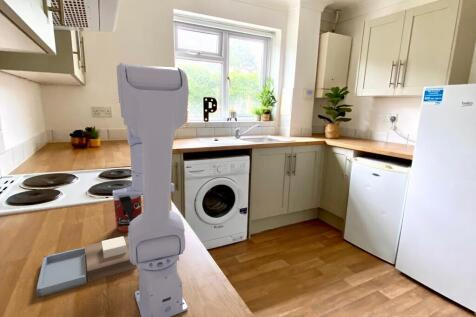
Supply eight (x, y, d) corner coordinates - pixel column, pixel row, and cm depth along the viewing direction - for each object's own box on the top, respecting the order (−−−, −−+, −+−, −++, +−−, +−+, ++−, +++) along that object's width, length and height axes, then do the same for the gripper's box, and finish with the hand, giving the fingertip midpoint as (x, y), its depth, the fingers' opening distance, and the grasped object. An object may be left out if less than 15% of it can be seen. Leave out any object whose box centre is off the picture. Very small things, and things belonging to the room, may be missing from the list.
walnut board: (136, 267, 61) (136, 258, 60) (88, 281, 56) (87, 271, 55) (128, 244, 71) (127, 236, 71) (86, 254, 66) (85, 245, 65)
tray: (86, 283, 55) (85, 276, 55) (37, 297, 51) (36, 289, 51) (85, 253, 66) (84, 247, 66) (45, 263, 62) (44, 256, 62)
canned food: (115, 234, 76) (112, 199, 74) (117, 223, 83) (114, 191, 81) (143, 230, 79) (141, 196, 77) (142, 219, 86) (140, 188, 84)
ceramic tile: (126, 252, 63) (126, 245, 62) (103, 258, 60) (103, 250, 60) (123, 243, 67) (123, 236, 66) (102, 248, 64) (101, 241, 64)
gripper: (168, 164, 71) (169, 210, 73) (109, 170, 63) (114, 221, 66) (176, 169, 65) (177, 220, 68) (112, 176, 57) (117, 232, 60)
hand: (146, 221), depth 66 cm, fingers open, 7 cm apart
